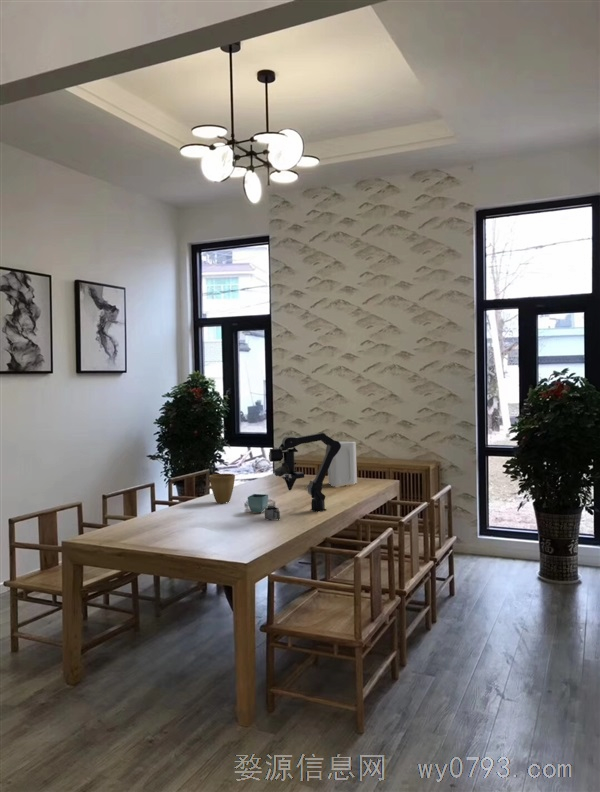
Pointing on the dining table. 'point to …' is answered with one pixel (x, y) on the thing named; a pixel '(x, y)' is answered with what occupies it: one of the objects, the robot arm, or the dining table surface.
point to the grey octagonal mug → (272, 513)
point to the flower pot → (257, 502)
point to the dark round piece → (271, 507)
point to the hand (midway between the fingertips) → (289, 490)
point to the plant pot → (222, 486)
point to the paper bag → (344, 465)
